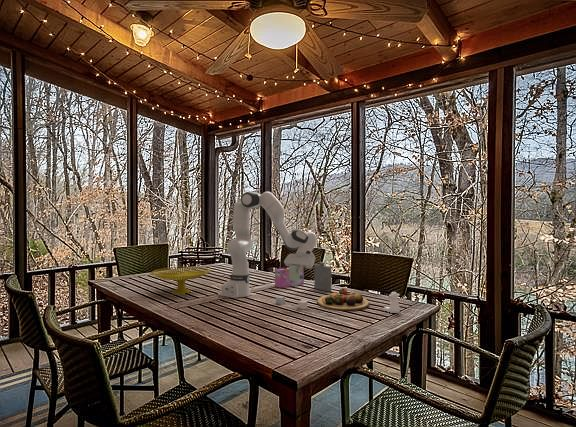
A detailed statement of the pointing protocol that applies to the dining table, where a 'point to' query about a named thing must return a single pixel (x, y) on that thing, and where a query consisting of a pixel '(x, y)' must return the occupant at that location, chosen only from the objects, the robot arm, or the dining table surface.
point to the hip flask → (322, 277)
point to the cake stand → (180, 276)
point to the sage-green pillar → (293, 272)
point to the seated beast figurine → (393, 304)
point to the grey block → (280, 300)
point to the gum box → (287, 278)
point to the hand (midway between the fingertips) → (293, 271)
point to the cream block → (302, 304)
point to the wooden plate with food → (343, 301)
